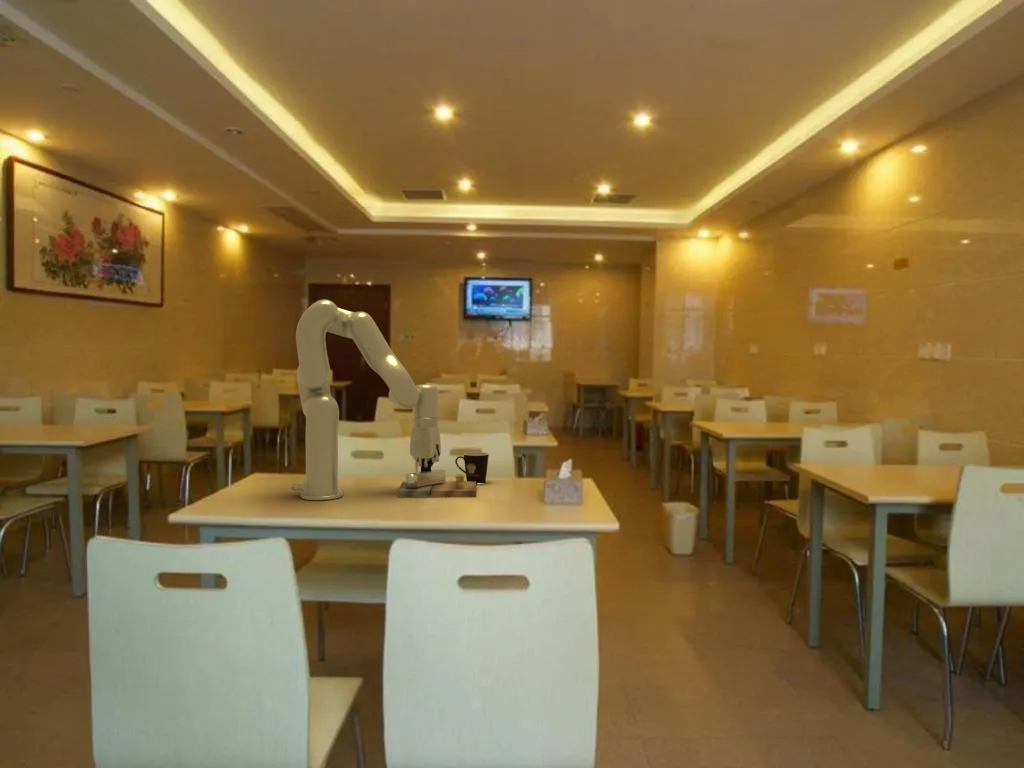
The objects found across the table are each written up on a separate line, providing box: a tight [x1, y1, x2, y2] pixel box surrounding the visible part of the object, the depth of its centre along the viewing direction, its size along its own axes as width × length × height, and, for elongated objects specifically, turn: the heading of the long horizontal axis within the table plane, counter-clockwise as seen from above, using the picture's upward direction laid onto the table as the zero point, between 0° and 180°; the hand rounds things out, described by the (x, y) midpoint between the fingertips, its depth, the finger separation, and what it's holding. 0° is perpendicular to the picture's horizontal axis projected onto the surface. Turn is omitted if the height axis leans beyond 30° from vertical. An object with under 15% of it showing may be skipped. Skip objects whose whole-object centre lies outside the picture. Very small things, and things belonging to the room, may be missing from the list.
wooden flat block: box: [396, 473, 477, 498], centre depth 219 cm, size 24×16×6 cm, turn 92°
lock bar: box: [405, 468, 447, 488], centre depth 219 cm, size 15×4×4 cm, turn 137°
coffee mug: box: [454, 451, 490, 484], centre depth 237 cm, size 12×9×10 cm
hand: (425, 478), depth 223 cm, fingers closed
